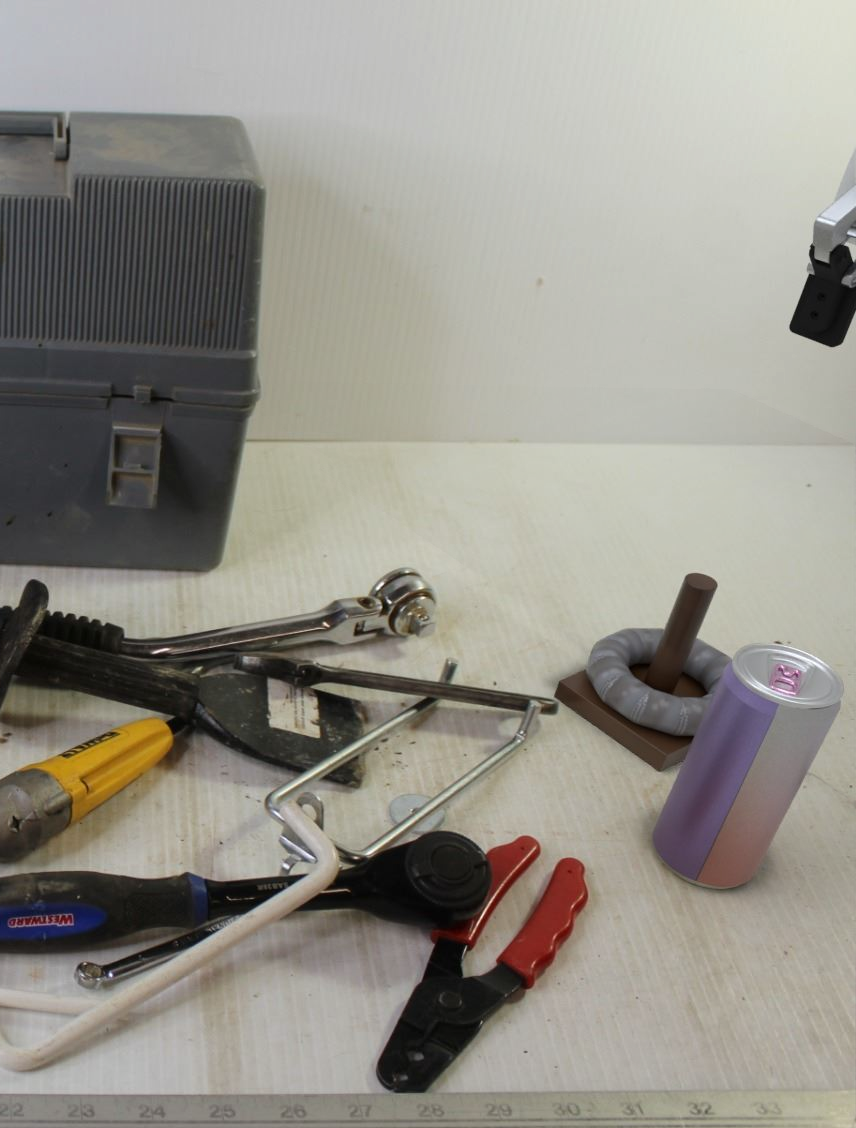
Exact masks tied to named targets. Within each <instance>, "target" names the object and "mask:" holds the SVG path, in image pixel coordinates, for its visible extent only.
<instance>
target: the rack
mask: <svg viewBox="0 0 856 1128" xmlns="http://www.w3.org/2000/svg"><path fill="white" fill-rule="evenodd" d="M718 584H719V583H718V582H717V580H716V579H714V578H713V577H712V576H710V575H707V574H704V573H701V572H690V573H688V574H686V575H685V576H684V579H683V581H682V582H681V585H680V589H679V592H678V594H677V596H676V599H675V601H674V604H673V606H672V608H671V611H670V614H669V617H668V618H667V622H666V624H665V627H664V628H663V629H664V631H663V634H662V636H661V639H660V642H659V644H658V647H657V649H656V652H655V654H654V657H653V659H652V662H651V664H634V665H632V666H630V667H629V670H630V671H631V673H632V674H633V676H634V677H635V678H637V679H638V680H640V681H641V682H643V683H645V684H646V685H648V686H649V687H651V688H652V689H654V690H657V691H661V692H664V693H668V694H671V695H674V696H678V697H703V696H705V695H707V694H708V693H707V691H706V690H705V688H704V687H703V686H702V684H701V683H699V682H698V681H696V680H695V679H693V678H691V677H690V676H688V675H687V674H685V673H683V672H682V671H683V669H684V666H685V664H686V662H687V659H688V657H689V654H690V652H691V650H692V647H693V645H694V642H695V640H696V638H698V635H699V633H700V630H701V628H702V625H703V623H704V620H705V619H706V615H707V613H708V610H709V609H710V606H711V603H712V601H713V599H714V596H715V594H716V591H717V589H718V586H719V585H718ZM553 697H554V698H556V699H557V700H558V701H560V702H561V703H563V704H564V705H565V706H566V707H568V708H570V709H571V710H572V711H573V712H574V713H576V714H578V715H579V716H581V717H582V718H584V719H585V720H587V721H588V722H589V723H590V724H592V725H593V726H595V727H596V728H598V729H599V730H600V731H602V733H605V734H606V735H607V736H609V737H611V738H612V739H613V740H614V741H616V742H617V743H619V744H620V745H622V746H623V747H624V748H626V749H627V750H628V751H630V752H631V753H633V754H634V755H636V756H637V757H638V758H640V759H641V760H643V761H644V762H646V763H647V764H648V765H650V766H651V767H652V768H654V769H655V770H656V771H658V772H661V771H664V770H666V769H668V768H670V767H672V766H674V765H676V764H679V763H680V762H683V761H684V759H685V757H686V754H687V752H688V750H689V748H690V745H691V743H692V741H693V738H694V736H676V735H671V734H668V733H664V732H661V731H658V730H655V729H651V728H648V727H645V726H642V725H639V724H636V723H634V722H632V721H631V720H629V719H628V718H626V717H625V716H623V715H622V714H620V713H619V712H617V711H616V710H614V709H613V708H611V707H610V706H608V705H607V704H605V703H604V702H603V701H602V700H601V698H600V697H599V695H598V693H597V692H596V690H595V688H594V687H593V685H592V684H591V682H590V680H589V679H588V676H587V673H586V668H585V669H582V670H580V671H578V672H576V673H574V674H571V675H568V676H566V677H565V678H562V679H560V680H558V683H557V686H556V689H555V692H554V695H553Z"/></svg>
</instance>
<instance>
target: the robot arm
mask: <svg viewBox="0 0 856 1128" xmlns="http://www.w3.org/2000/svg"><path fill="white" fill-rule="evenodd" d="M840 180H841V181H840V183H839V185H838V188H837V191H836V194H835V197H834V200H833V202H832V203H831V204H830V205H829V206H828V207H826V208H825V209H824V210H823V211H822V212H821V213H819V214H818V216H816V218H815V220H814V222H813V229H812V232H813V233H812V243H811V244H810V245H809V250H808V258H809V261H808V263H807V265H806V273H807V274H808V275H807V278H806V280H805V282H804V286H803V288H802V291H801V293H800V296H799V299H798V301H797V304H796V306H795V309H794V311H793V315H792V317H791V320H790V323H789V325H788V328H789V331H790V332H791V333H793V334H795V335H797V336H800V337H802V338H805V339H808V340H810V341H812V342H815V343H818V344H821V345H823V346H826V347H828V348H836V347H838V346H841V345H842V344H843V343H844V341H845V339H846V336H847V334H848V332H849V330H850V326H851V324H852V321H853V319H854V316H855V315H856V258H855V259H854V260H853V256H852V252H851V251H850V250H851V249H850V247H849V246H848V245H845V244H846V243H848V244H851V245H855V246H856V146H855V147H854V149H853V152H852V153H851V156H850V158H849V161H848V163H847V165H846V168H845V171H844V173H843V175H842V178H841V179H840Z"/></svg>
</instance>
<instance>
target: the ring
mask: <svg viewBox="0 0 856 1128" xmlns="http://www.w3.org/2000/svg"><path fill="white" fill-rule="evenodd" d="M664 629H665V628H662V627H628V628H622V629H620V630H618V631H616V632H613V633H611V634H609V635H607V636H605V637H602V638H600V639H599V640H597V641H596V642H595V643H594V644H593V646H592V649H591V650H590V654H589V658H588V660H587V663H586V664H587V665H586V668H585V669H586V673H587V676H588V679H589V680H590V682H591V684H592V685H593V687H594V688H595V690H596V692H597V693H598V695H599V697H600V698H601V700H602V701H603V702H604V703H605V704H607V705H608V706H610V707H611V708H613V709H614V710H616V711H617V712H619V713H620V714H622V715H623V716H625V717H626V718H628V719H629V720H631V721H632V722H634V723H636V724H639V725H642V726H645V727H648V728H651V729H655V730H658V731H661V732H664V733H668V734H671V735H676V736H695V734H696V732H697V729H698V727H699V725H700V723H701V720H702V718H703V716H704V713H705V711H706V709H707V707H708V704H709V702H710V700H711V697H712V695H713V693H714V691H715V688H716V686H717V684H718V682H719V679H720V677H721V675H722V672H723V670H724V668H725V666H726V665H727V664H728V663H729V662H730V661H731V660H732V659H733V657H731V656H729V655H727V654H726V653H725V652H722V651H721V650H719V649H717V648H716V647H714V646H713V645H711V644H709V643H707V642H706V641H704V640H702V639H700V638H698V637H697V638H696V640H695V642H694V645H693V647H692V650H691V652H690V654H689V657H688V659H687V662H686V664H685V666H684V669H683V671H682V672H683V673H685V674H687V675H688V676H690V677H691V678H693V679H695V680H696V681H698V682H699V683H701V684H702V686H703V687H704V688H705V690H706V691H707V693H708V694H707V695H705V696H703V697H678V696H674V695H671V694H668V693H664V692H661V691H657V690H654V689H652V688H651V687H649V686H648V685H646V684H645V683H643V682H641V681H640V680H638V679H637V678H635V677H634V676H633V674H632V673H631V671H630V670H629V667H630V666H632V665H634V664H651V662H652V659H653V657H654V654H655V652H656V649H657V647H658V644H659V642H660V639H661V636H662V634H663V631H664Z"/></svg>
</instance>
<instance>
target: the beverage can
mask: <svg viewBox="0 0 856 1128" xmlns="http://www.w3.org/2000/svg"><path fill="white" fill-rule="evenodd" d="M844 693H845V684H844V681H843V679H842V677H841V676H840V674H839V673H838V672H837V671H836V670H835V669H834V668H833V667H832V666H831V665H829V664H828V663H827V662H826V661H824V660H823V659H821V658H819V657H817V656H816V655H814V654H811V653H810V652H808V651H805V650H802V649H799V648H796V647H793V646H789V645H786V644H780V643H774V642H773V643H772V642H756V643H750V644H747V645H744V646H742V647H741V648H739V649H738V650H737V651H736V652H735V653H734V654H733V656H732V660H731V661H730V662H729V663H728V664H727V665H726V666H725V668H724V670H723V672H722V675H721V677H720V679H719V682H718V684H717V686H716V688H715V691H714V693H713V695H712V697H711V700H710V702H709V704H708V707H707V709H706V711H705V713H704V716H703V718H702V720H701V723H700V725H699V727H698V729H697V732H696V734H695V736H694V738H693V741H692V743H691V745H690V748H689V750H688V752H687V754H686V757H685V759H684V760H682V764H681V765H680V768H679V770H678V772H677V775H676V777H675V780H674V781H673V784H672V786H671V789H670V791H669V794H668V795H667V798H666V800H665V803H664V804H663V807H662V809H661V811H660V814H659V816H658V818H657V821H656V822H655V825H654V827H653V829H652V834H651V838H652V840H651V841H652V845H653V847H654V850H655V853H656V855H657V856H658V858H659V860H660V862H662V864H663V865H664V866H665V867H666V868H667V870H669V871H670V872H672V873H673V874H674V875H675V876H677V877H679V878H680V879H682V880H684V881H685V882H688V883H690V884H693V885H695V886H698V887H702V888H706V889H711V890H726V889H732V888H735V887H739V886H742V885H744V884H746V883H747V882H749V881H751V880H752V879H753V878H754V876H755V875H756V873H757V871H758V869H759V867H760V865H761V863H762V861H763V859H764V857H765V856H766V854H767V852H768V850H769V848H770V846H771V844H772V842H773V840H774V838H775V836H776V834H777V832H778V830H779V828H780V827H781V824H782V823H783V821H784V819H785V817H786V815H787V813H788V811H789V809H790V807H791V806H792V804H793V801H794V799H795V797H796V795H797V794H798V792H799V789H800V788H801V786H802V784H803V782H804V780H805V779H806V776H807V774H808V772H809V770H810V769H811V766H812V764H813V763H814V760H815V759H816V757H817V755H818V753H819V752H820V749H821V748H822V746H823V743H824V741H825V739H826V737H827V735H828V733H830V730H831V728H832V726H833V724H834V722H835V720H836V718H837V716H838V714H839V712H840V710H841V707H842V706H841V705H842V697H843V695H844Z"/></svg>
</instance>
